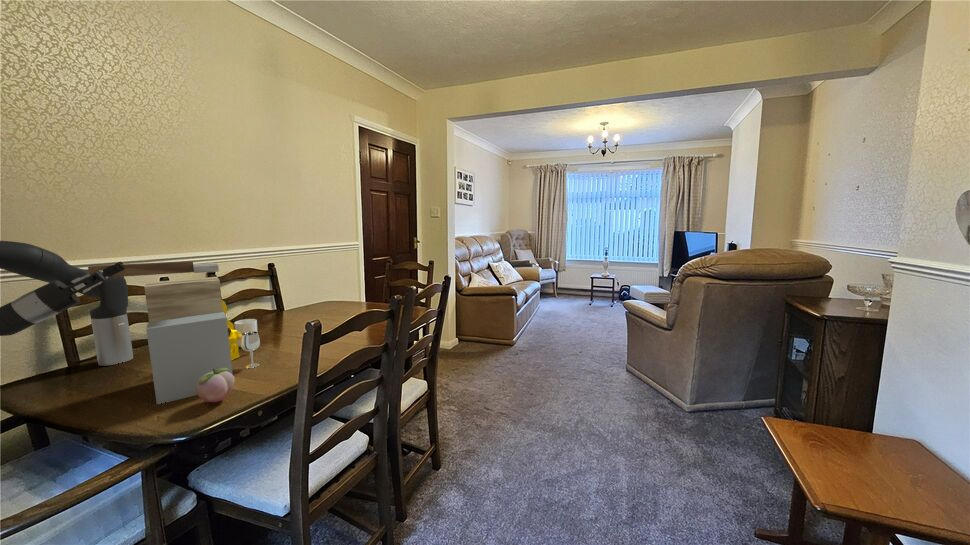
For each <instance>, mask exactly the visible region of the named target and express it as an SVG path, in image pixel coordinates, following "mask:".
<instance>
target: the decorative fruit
mask: <svg viewBox="0 0 970 545" xmlns="http://www.w3.org/2000/svg"><path fill="white" fill-rule="evenodd" d="M226 370H230V369H228V368H220V369H217V370H215V369H213V372H209V373H207V374H205V375H203V376H202V377H201V378H200V379H199V380H198V382H197V383H196V387H195V389H196V392H197V394H198V395H197V396H198V397H199V398H200V399H201V400H203V401H205V402H206V403H207V402H208V403H219V402H220V401H221V402H222V400H224V399H225V398H226V397H228V395H229V394H230V393H231V392H232V390H233V387H235V383H236V378H235V376H234V374H233V375H232V374H231V373H230V372H227V371H226Z"/></svg>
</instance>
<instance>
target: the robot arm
mask: <svg viewBox="0 0 970 545" xmlns="http://www.w3.org/2000/svg"><path fill="white" fill-rule="evenodd" d="M121 264H124V263H123V262H122V261H118V262H115V263H114V264H111V265H112V266H110V267H108V268H106V269H104V270H101V271H100V270H99V271H98V272H97V273H96V272H95V273H94V274H89V271H88V270H87V269H84V268H80V267H76V266H74V265H71V264H69V263H68V262H67V261H66V260H65V259H64V258H63V257H62V256H60V255H59V254H57V253H55V252H53V251H50V250H48V249H46V248H42V247H40V246H37V245H33V244H30V243H25V242H19V241H12V240H10V241H8V240H0V269H1V270H4V271H7V272H10V273H13V274H15V275H20V276H23V277H25V278H30V279H34V280H37V281H41V282H44V283H46V284H44V285H42V286H40V287H38V288H36V289H34V290H31V291H29V292H27V293H25V294H22V295H21V296H19V297H17V298H16V299H14V300H13V301H10V302H9V303H5V304H3V305H2V306H0V337H5V336H7V337H8V336H13V335H15V334H18V333H21V332H22V331H24V330H26V329H28V328H31V327H33V326H34V325H36V324H38V323H41V322H43V321H45V320H48V319H51V318H53V317H54V316H57V315H59V314H60V313H62V312H65V311H66V310H69V309H70V308H72V307H74V306H76V305H79V304H80V302H81V301H80V297H79V296H78V295H77V293H78V294H81V295H83V296H85V297H89V298H99V305H98V306H97V307H94V308H92V309H91V310H90V311H89V316H90V321H91V328H92V332H93V333H92V334H93V339H94V347H95V353H96V359H97V365H98V366H103V367H104V366H113V365H119V364H123V363H127V362H128V361H131V360H133V359H134V353H133V352H134V351H133V346H132V345H133V344H132V338H131V332H130V326H129V320H128V313H127V312H128V311H127V310H128V307H129V294H128V292H129V291H128V284H127V280H126V278H125V276H124V277H110V276H112V275H114V274H116V273H118V272H120V271H122V270H124V267H123V266H122V265H121ZM122 362H123V363H122ZM118 363H119V364H118Z"/></svg>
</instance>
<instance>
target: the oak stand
mask: <svg viewBox="0 0 970 545" xmlns="http://www.w3.org/2000/svg"><path fill="white" fill-rule="evenodd" d="M221 290H222V289H221V281H220V279H219V278H218V276H209V277H198V278H185V279H174V280H173V279H171V280H160V281H159V280H158V281H147V282H146V283H145V285H144V294H145V301H146V307H147V315H148V322H152V321H160V320H167V319H175V318H182V317H190V316H198V315H205V314H213V313H220V312H223V307H222V301H223V299H222V298H223V297H222V292H221Z"/></svg>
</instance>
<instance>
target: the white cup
mask: <svg viewBox="0 0 970 545" xmlns="http://www.w3.org/2000/svg"><path fill="white" fill-rule="evenodd" d="M233 325H234V330H237V331H238V332H239V333H241V334H243V333H246V332H252V331H255V332H257V333H258V320H257V319H256V318H245V319H240V320H237V321H235V322H234V323H233ZM237 343H238V348H242V347H241V340H239V339H237Z"/></svg>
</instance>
